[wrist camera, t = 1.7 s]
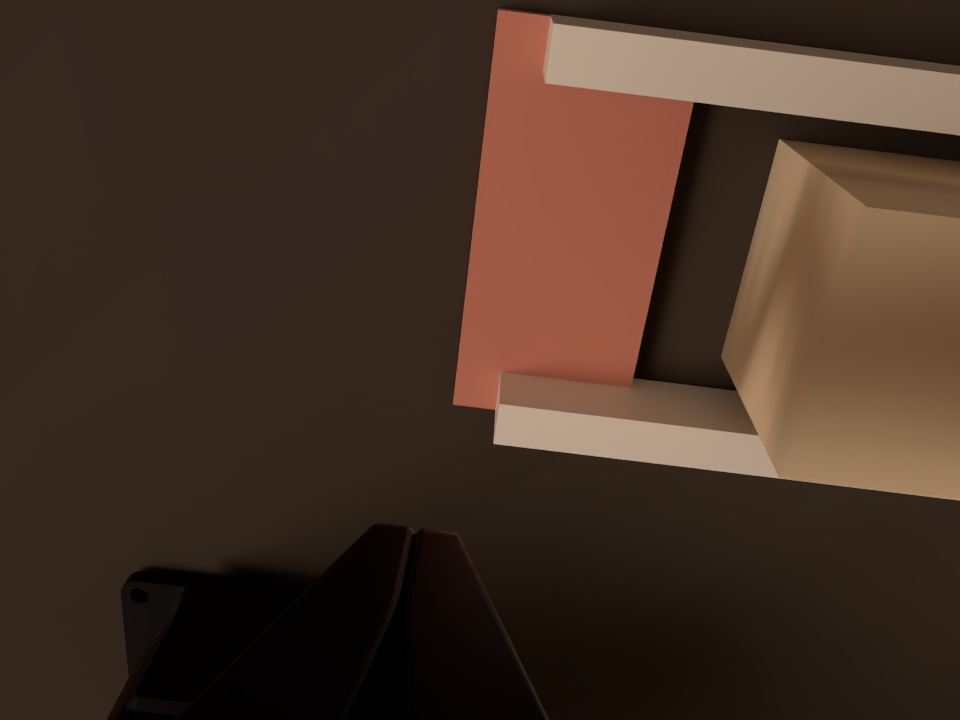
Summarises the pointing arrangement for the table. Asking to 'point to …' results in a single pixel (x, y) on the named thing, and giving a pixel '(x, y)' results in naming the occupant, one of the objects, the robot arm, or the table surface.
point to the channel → (625, 221)
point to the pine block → (854, 320)
